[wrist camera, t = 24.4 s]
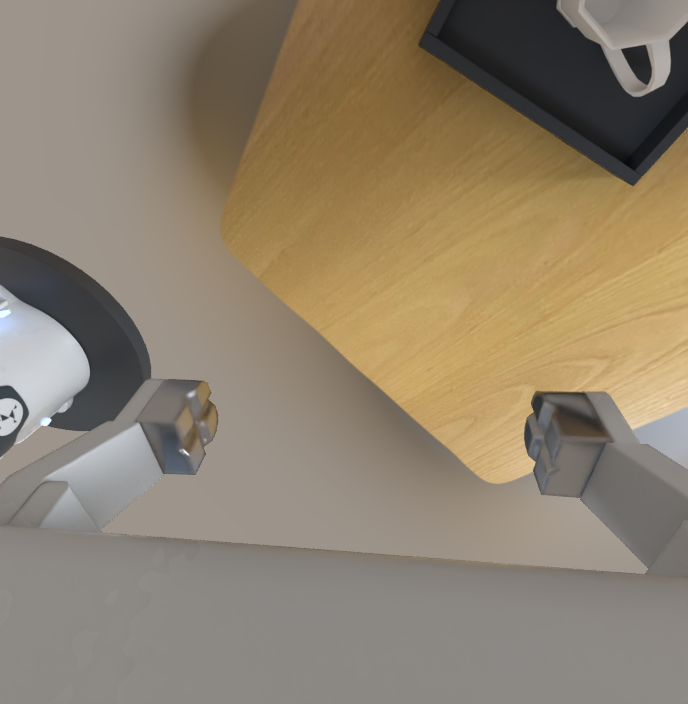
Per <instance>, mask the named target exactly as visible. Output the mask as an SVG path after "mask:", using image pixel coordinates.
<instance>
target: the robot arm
mask: <svg viewBox="0 0 688 704" xmlns="http://www.w3.org/2000/svg"><path fill="white" fill-rule="evenodd" d="M89 377H90V367H89V363H88V359H87V357H86V355H85V353H84V351H83V349H82V347H81V346H80V344H79V343H78V342H77V340H76V339H75V338H74V337H73V336H72V335H71V334H70V333H69V331H67V330H66V329H65V328H64V327H63V326H62V325H61V324H60V323H58V322H57V321H56V320H54V319H53V318H51V317H50V316H48V315H47V314H45V313H43V312H42V311H40V310H38V309H36V308H34V307H32V306H30V305H28V304H26V303H24V302H22V301H21V300H19V299H18V298H16V297H15V296H14V295H13V294H12V293H10V292H9V291H8V290H7V289H5V288H4V287H3V286H1V285H0V459H1V458H2V457H3V456H4V454H5V453H6V452H7V451H8V450H9V449H10V448H11V447H12V446H13V445H14V444H18V443H20V442H22V441H23V440H24V439H26V438H27V437H28V436H29V435H30V434H32V433H33V432H34V431H35V430H36V429H37V428H39V427H40V426H41V425H48V424H49V423H50V422H51V419H49V418H50V417H52V416H53V415H54V414H55V413H56V412H59V413H63V412H65V411H66V410H67V409H69V408H70V407H71V405H72V402H73V398H74V396H75V395H76V394H77V393H78V392H80V391H81V390H82V389H83V388H84V387H85V386H86V385H87V383H88V381H89ZM210 394H211V390H210V388H209V385H208V383H207V382H205V381H196V380H176V379H152V378H151V379H148V380H146V381H145V382H144V383H143V384H142V385H141V387H140V388H139V389H138V390H137V392H136V393H135V394H134V396H133V397H132V398H131V399H130V401H129V402H128V403H127V404H126V406H125V407H124V408H123V410H122V411H121V412H120V413H119V415H118V416H117V417H116V418H115V420H114V421H107V422H105V423H103V424H101V425H100V426H98V427H96V428H94V429H92V430H91V431H89V432H87V433H85V434H84V435H82V436H80V437H78V438H76V439H75V440H73V441H71V442H69V443H67V444H65V445H63V446H62V447H60V448H58V449H56V450H55V451H53V452H51V453H49V454H47V455H46V456H44V457H42V458H40V459H38V460H36V461H35V462H33V463H31V464H29V465H27V466H26V467H24V468H22V469H20V470H18V471H16V472H15V473H13V474H11V475H9V476H8V477H7V478H6V479H5V480H4V481H3V482H2V483H1V484H0V704H688V469H686V468H684V467H683V466H681V465H680V464H678V463H676V462H675V461H673V460H672V459H670V458H669V457H667V456H666V455H664V454H662V453H661V452H659V451H658V450H656V449H655V448H653V447H651V446H650V445H648V444H640V442H639V441H638V439H637V437H636V436H635V434H634V433H633V431H632V429H631V428H630V426H629V425H628V423H627V422H626V420H625V418H624V417H623V415H622V414H621V412H620V410H619V409H618V407H617V406H616V404H615V403H614V401H613V399H612V398H611V396H610V395H609V394H608V393H606V392H584V391H582V392H563V391H536V392H535V394H534V395H533V398H532V402H531V405H532V408H533V411H534V412H533V413H532V414H531V415H529V416H528V417H527V420H526V424H525V432H524V440H525V446H526V450H527V453H528V456H529V457H531V458H532V459H533V460H534V461H535V462H536V463H535V467H534V470H533V472H534V475H535V478H536V481H537V483H538V487H539V490H540V493H541V495H552V496H565V497H576V498H581V499H580V500H581V501H582V502H583V503H584V504H585V505H586V506H587V507H588V508H589V509H590V510H591V511H592V512H593V513H594V514H595V515H596V516H597V517H598V518H599V519H600V520H601V521H602V522H603V523H604V524H605V525H606V526H607V527H608V528H609V529H610V530H611V531H612V532H613V533H614V534H615V535H616V536H617V537H618V538H619V539H620V540H621V541H622V542H623V543H624V544H625V545H626V546H627V547H628V548H629V549H630V550H631V551H632V553H634V555H635V556H636V557H637V558H638V559H639V560H640V561H641V562H642V563H643V564H644V565H645V566H647V568H648V570H647V572H646V573H645V574H636V573H622V572H610V571H596V570H583V569H571V568H570V569H569V568H558V567H557V568H556V567H545V566H532V565H518V564H505V563H492V562H479V561H465V560H451V559H439V558H426V557H412V556H399V555H386V554H373V553H359V552H347V551H334V550H322V549H309V548H296V547H282V546H269V545H257V544H244V543H231V542H218V541H205V540H192V539H179V538H166V537H152V536H139V535H127V534H113V533H102V532H101V529H102V528H103V527H104V526H105V525H106V524H108V523H109V522H110V521H111V520H113V518H115V517H116V516H117V515H118V514H120V513H121V512H122V511H123V510H124V509H125V508H126V507H128V506H129V505H130V504H131V503H132V502H133V501H135V500H136V499H137V498H138V497H139V496H141V495H142V494H143V493H144V492H145V491H146V490H148V489H149V488H150V487H151V486H152V485H153V484H155V483H156V482H157V481H158V480H159V479H160V478H162V477H163V476H164V475H163V474H187V475H195V474H196V473H197V471H198V469H199V467H200V465H201V463H202V461H203V459H204V457H205V455H206V453H205V450H204V446H205V445H207V444H208V443H210V442H211V441H212V440H213V438H214V436H215V433H216V430H217V425H218V413H217V410H216V406H215V405H214V404H213V403H212V402H211V401H209V400H208V398H209V396H210Z"/></svg>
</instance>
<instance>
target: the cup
mask: <svg viewBox="0 0 688 704" xmlns="http://www.w3.org/2000/svg"><path fill="white" fill-rule="evenodd" d="M556 9H557V10H558V11H559V12H560V13H561V14H562V16H563V17H564V18H565V19H566V20H567V21H568V22H569V24H570V25H571V26H572V27H573V28H574V27H577V28H578V29H579V30H580V31H581V33H582V34H583V35H584V36H585V37H586V38H588V39H590V40H592V41H594V42H596V43H598V44H600V45H601V47H602V50H603V52H604V54H605V56H606V58H607V60H608V62H609V64H610V66H611V68H612V70H613V72H614V74H615V76H616V78H617V80H618V81H619V83H620V84H621V86H622V87H623V89H624V90H625V91H626V92H627V93H629V94H630V95H632V96H633V97H641V96H643V95H645V94H647V93H649V92H651V91H653V90H655V89H657V88H659V87H661V86H662V85H664V84H665V82H666V80H667V78H668V75H669V73H670V65H671V57H670V47H669V40H670V39H671V38H672V37H673V36H674V35H675V34H676V33H677V32H678V31H679V30H680V29H681V28H682V27H683V26H684V25H685V24H686V23H687V22H688V0H557V6H556ZM640 45H646V47H647V50H648V54H649V58H650V62H651V66H652V77H651V79H650V82H649V84H648V85H645V84H644V83H642V82H641V81H639V80H638V79H637V77H636V76H635V74H634V73H633V71H632V70H631V68H630V66H629V65H628V63H627V61H626V59H625V57H624V55H623V53H622V51H621V49H623V48H629V47H635V46H640Z"/></svg>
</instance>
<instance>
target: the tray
mask: <svg viewBox="0 0 688 704" xmlns="http://www.w3.org/2000/svg"><path fill="white" fill-rule="evenodd" d="M556 6H557V0H440V1H439V3H438V6H437V8H436V10H435V12H434V14H433V16H432V18H431V20H430V22H429V24H428V26H427V28H426V30H425V32H424V34H423V36H422V38H421V40H420V42H419V44H418V45H419V46H420V47H421V48H423V49H424V50H426V51H427V52H429V53H430V54H432V55H433V56H435V57H436V58H438V59H439V60H441V61H442V62H444V63H445V64H447V65H448V66H450V67H451V68H453V69H455V70H456V71H458V72H459V73H461V74H462V75H464V76H465V77H467V78H468V79H470V80H471V81H473V82H474V83H476V84H477V85H479V86H480V87H482V88H483V89H485V90H486V91H488V92H489V93H491V94H492V95H494V96H495V97H497V98H498V99H500V100H501V101H503V102H504V103H506V104H507V105H509V106H510V107H512V108H513V109H515V110H516V111H518V112H519V113H521V114H522V115H524V116H525V117H527V118H528V119H530V120H531V121H533V122H535V123H536V124H538V125H539V126H541V127H542V128H544V129H545V130H547V131H548V132H550V133H551V134H553V135H554V136H556V137H557V138H559V139H560V140H562V141H563V142H565V143H566V144H568V145H569V146H571V147H572V148H574V149H575V150H577V151H578V152H580V153H581V154H583V155H584V156H586V157H587V158H589V159H590V160H592V161H593V162H595V163H596V164H598V165H599V166H601V167H602V168H604V169H605V170H607V171H608V172H610V173H611V174H613V175H614V176H616V177H618V178H619V179H621V180H623V181H625V182H627V183H628V184H630V185H632V186H634V185H635V184H636V183H637V182H638V180H639V179H640V178H641V177H642V176H643V175H644V174H645V173H646V172H647V171H648V170H649V169H650V168H651V166H652V165H653V164H654V163H655V162H656V161H657V160H658V159H659V158H660V157H661V156H662V154H663V153H664V152H665V151H666V150H667V149H668V148H669V147H670V146H671V145H672V144H673V142H674V141H675V140H676V139H677V138H678V137H679V136H680V135H681V134H682V133H683V132H684V130H685V129H686V128H687V127H688V22H687V23H686V24H685V25H684V26H683V27H682V28H681V29H680V30H679V31H678V32H677V33H676V34H675V35H674V36H673V37H672V38H671V39H670V40H669V47H670V57H671V65H670V73H669V75H668V78H667V80H666V82H665V84H664V85H662V86H661V87H659V88H657V89H655V90H653V91H651V92H649V93H647V94H645V95H643V96H641V97H633V96H632V95H630V94H629V93H627V92H626V91H625V90H624V89H623V87H622V86H621V84H620V83H619V81H618V80H617V78H616V76H615V74H614V72H613V70H612V68H611V66H610V64H609V62H608V60H607V58H606V56H605V54H604V52H603V50H602V47H601V45H600V44H598V43H596V42H594V41H592V40H590V39H588V38H586V37H585V36H584V35H583V34H582V33H581V31H580V30H579V29H578V28H577V27H574V28H573V27H572V26H571V25H570V24H569V22H568V21H567V20H566V19H565V18H564V17H563V16H562V14H561V13H560V12H559V11H558V10H557V9H556ZM621 51H622V53H623V55H624V57H625V59H626V61H627V63H628V65H629V66H630V68H631V70H632V71H633V73H634V74H635V76H636V77H637V79H638V80H639V81H641V82H642V83H644V84H645V85H648V84H649V82H650V79H651V77H652V66H651V62H650V58H649V54H648V50H647V47H646V45H640V46H635V47H629V48H623V49H621Z"/></svg>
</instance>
